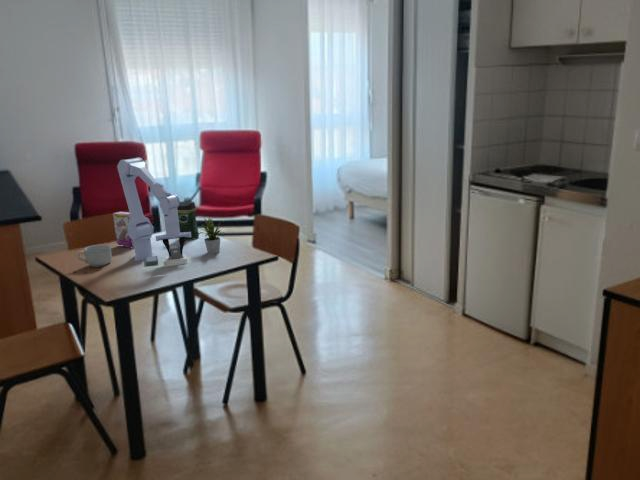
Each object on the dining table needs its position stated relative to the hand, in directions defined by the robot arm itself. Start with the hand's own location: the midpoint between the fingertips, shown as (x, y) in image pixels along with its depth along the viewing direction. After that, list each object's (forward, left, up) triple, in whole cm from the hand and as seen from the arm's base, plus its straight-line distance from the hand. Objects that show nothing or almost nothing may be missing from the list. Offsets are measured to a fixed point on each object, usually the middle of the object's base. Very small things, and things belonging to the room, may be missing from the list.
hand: (175, 255), depth 252 cm
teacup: (-13, -33, -4) cm, 36 cm away
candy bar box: (-43, -20, -4) cm, 48 cm away
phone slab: (-4, -10, -3) cm, 11 cm away
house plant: (-12, +16, -4) cm, 20 cm away
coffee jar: (-45, +9, -4) cm, 46 cm away
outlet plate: (-2, -4, -3) cm, 5 cm away
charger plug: (0, 0, -2) cm, 2 cm away
